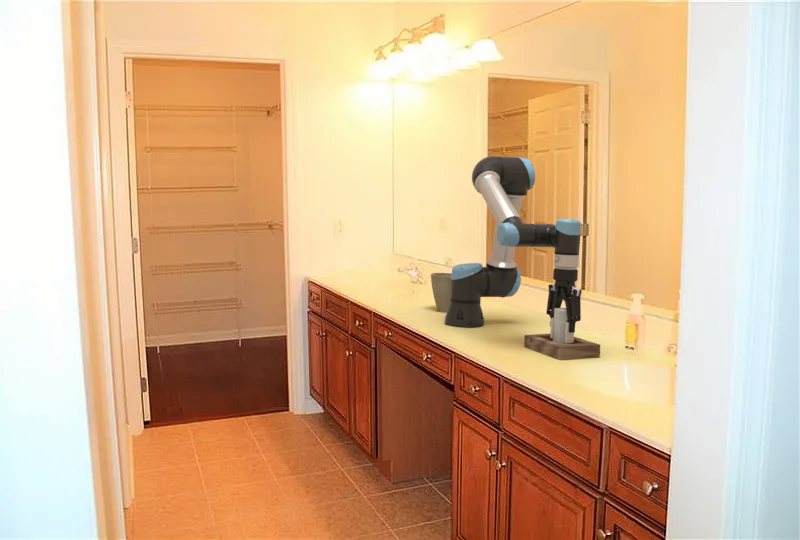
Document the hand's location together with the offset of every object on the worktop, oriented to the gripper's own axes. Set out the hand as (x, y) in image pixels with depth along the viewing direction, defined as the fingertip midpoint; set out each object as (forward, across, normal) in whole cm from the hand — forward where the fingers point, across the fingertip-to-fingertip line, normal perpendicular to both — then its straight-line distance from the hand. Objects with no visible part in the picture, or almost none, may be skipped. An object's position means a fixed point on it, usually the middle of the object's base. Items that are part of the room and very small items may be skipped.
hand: (561, 339), depth 210 cm
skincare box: (+2, 0, 0) cm, 2 cm away
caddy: (+4, 0, 0) cm, 4 cm away
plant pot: (+4, -82, +2) cm, 82 cm away
